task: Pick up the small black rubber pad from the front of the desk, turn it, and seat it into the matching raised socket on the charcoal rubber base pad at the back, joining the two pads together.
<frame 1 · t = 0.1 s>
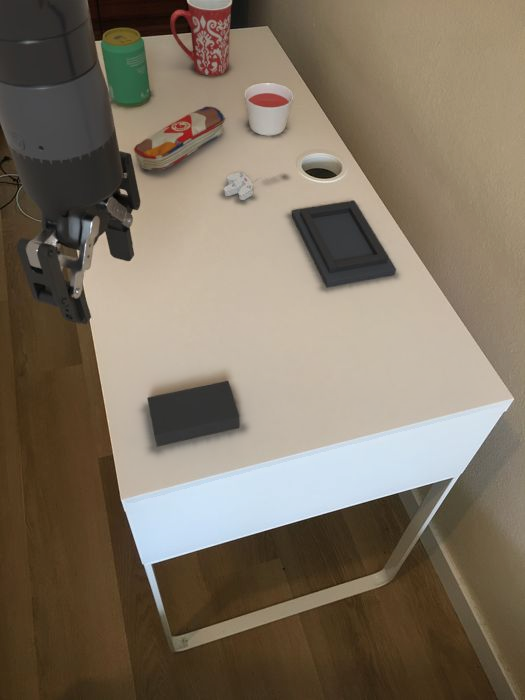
hand: (102, 286, 53), 22 cm above the table, tool pointing down, fingers open, 8 cm apart
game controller: (256, 188, 99), on the table
beverage can: (131, 98, 116), on the table
base pad: (340, 244, 91), on the table
black pad: (194, 418, 70), on the table
mug: (203, 69, 125), on the table
candle: (267, 127, 111), on the table
pencil case: (183, 150, 105), on the table
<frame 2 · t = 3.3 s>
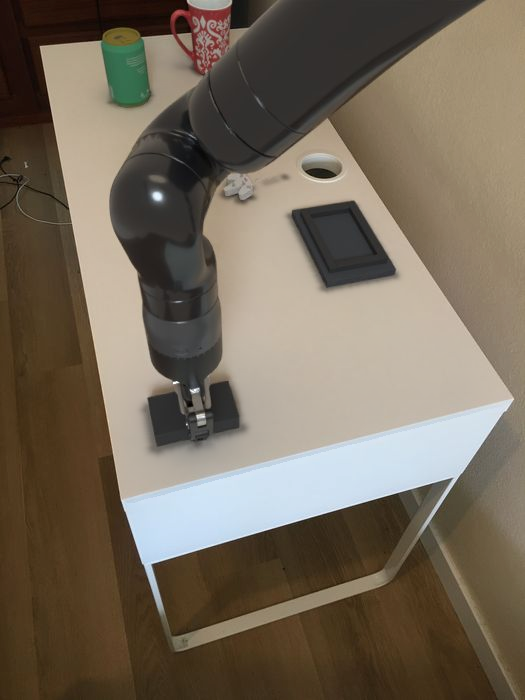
hand: (193, 415, 70), 1 cm above the table, tool pointing down, fingers closed on black pad, 5 cm apart
black pad: (194, 418, 70), on the table, touching gripper
everything else where it was.
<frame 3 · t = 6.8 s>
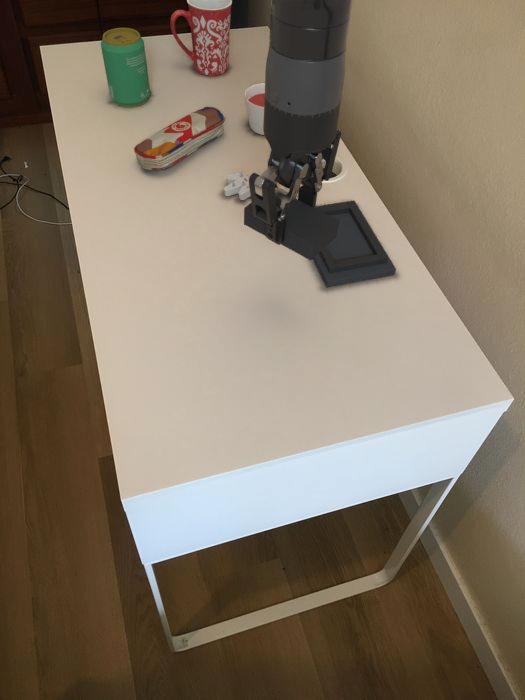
hand: (290, 227, 69), 15 cm above the table, tool pointing down, fingers closed on black pad, 5 cm apart
black pad: (290, 230, 69), point 15 cm above the table, touching gripper
everything else where it was.
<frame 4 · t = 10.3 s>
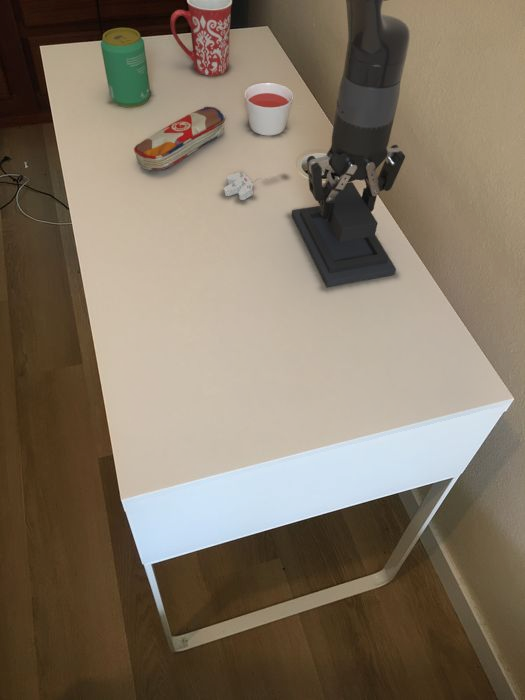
hand: (345, 215, 86), 6 cm above the table, tool pointing down, fingers closed on black pad, 5 cm apart
black pad: (344, 217, 87), point 5 cm above the table, touching gripper
everything else where it was.
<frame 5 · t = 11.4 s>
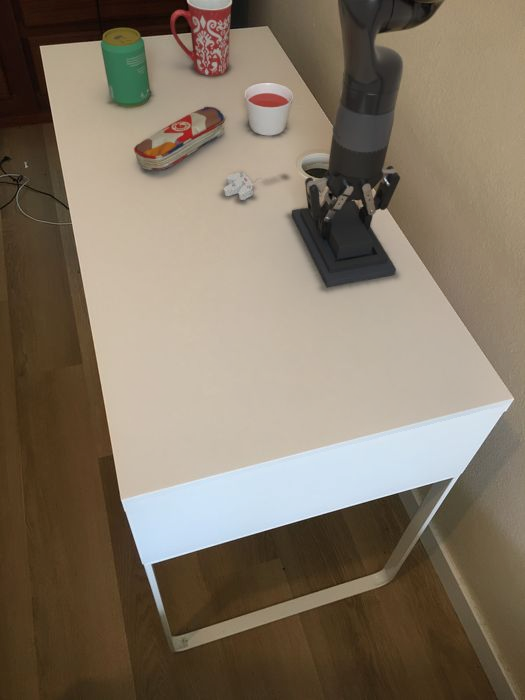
hand: (343, 233, 89), 2 cm above the table, tool pointing down, fingers closed on black pad, 5 cm apart
black pad: (342, 235, 89), point 2 cm above the table, touching gripper
everything else where it was.
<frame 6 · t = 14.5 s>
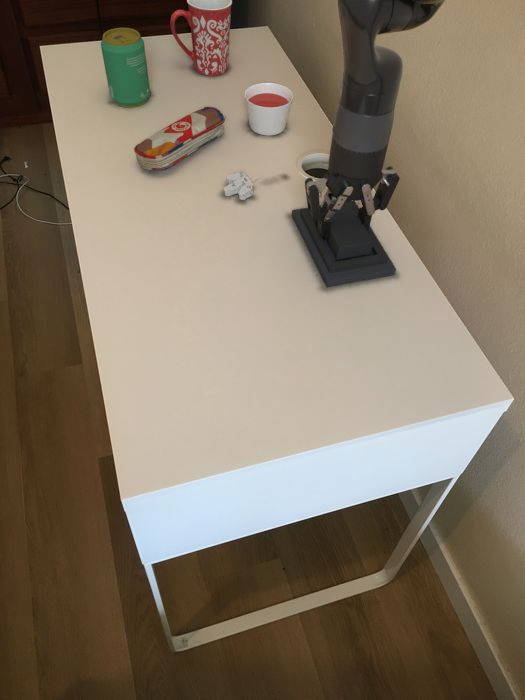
hand: (342, 233, 89), 2 cm above the table, tool pointing down, fingers closed on black pad, 5 cm apart
black pad: (341, 235, 89), point 2 cm above the table, touching gripper
everything else where it was.
when the fingers open (3 cm above the table, at t = 17.3 s): black pad drops 1 cm, resting on base pad.
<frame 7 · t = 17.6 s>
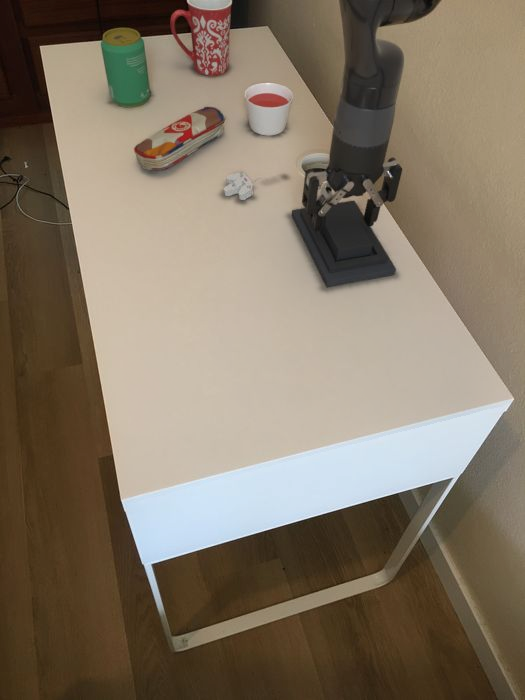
hand: (343, 226, 88), 3 cm above the table, tool pointing down, fingers open, 7 cm apart
black pad: (341, 238, 90), point 1 cm above the table, touching base pad
everything else where it was.
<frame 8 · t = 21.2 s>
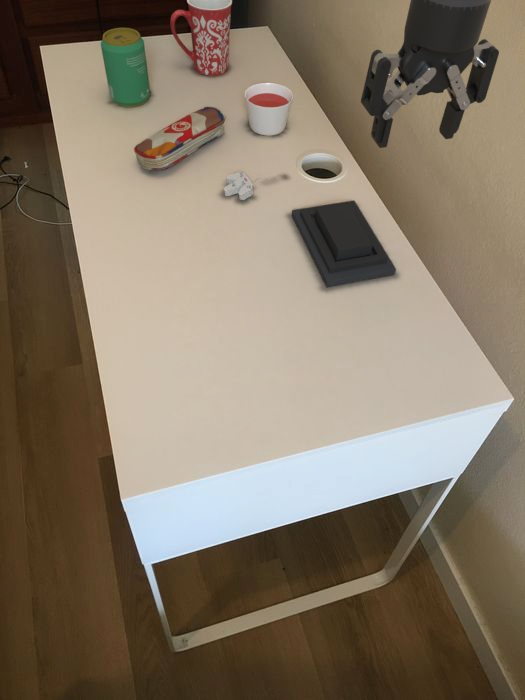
hand: (413, 139, 68), 23 cm above the table, tool pointing down, fingers open, 8 cm apart
nothing on the table moved.
at the end: black pad 0.1 cm off-centre on the base pad, point 1.2 cm above the base pad's base; black pad tilted 0°; the gripper is holding nothing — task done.
